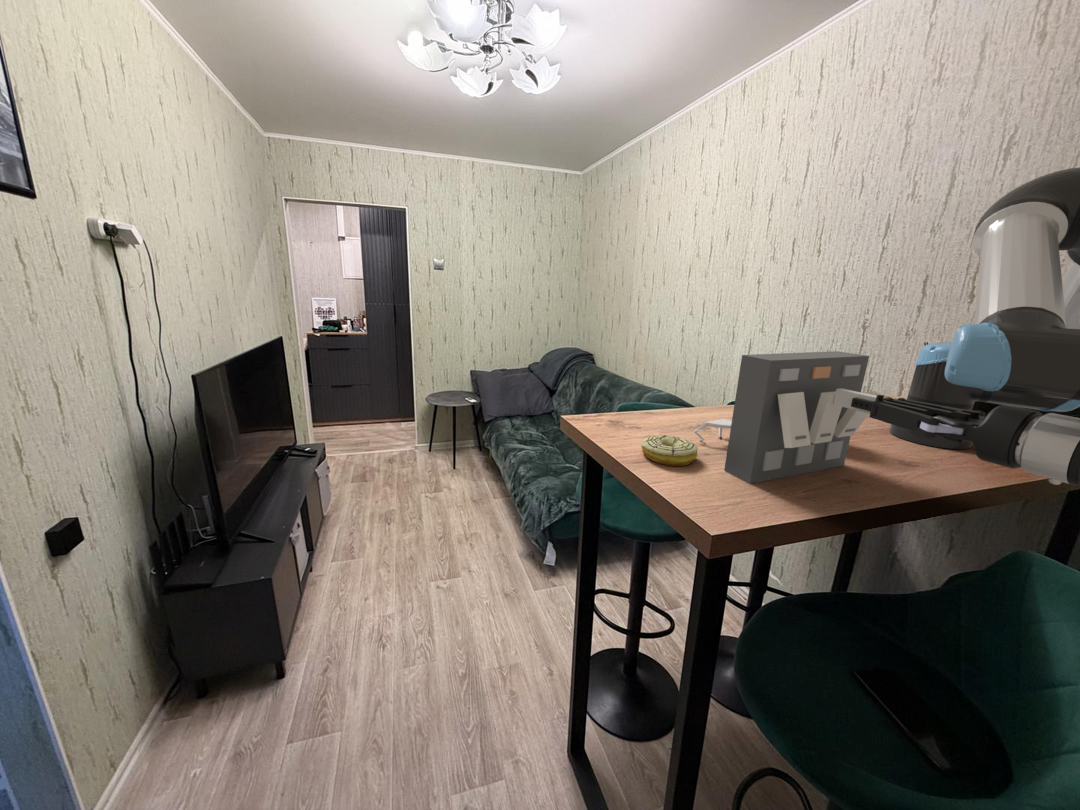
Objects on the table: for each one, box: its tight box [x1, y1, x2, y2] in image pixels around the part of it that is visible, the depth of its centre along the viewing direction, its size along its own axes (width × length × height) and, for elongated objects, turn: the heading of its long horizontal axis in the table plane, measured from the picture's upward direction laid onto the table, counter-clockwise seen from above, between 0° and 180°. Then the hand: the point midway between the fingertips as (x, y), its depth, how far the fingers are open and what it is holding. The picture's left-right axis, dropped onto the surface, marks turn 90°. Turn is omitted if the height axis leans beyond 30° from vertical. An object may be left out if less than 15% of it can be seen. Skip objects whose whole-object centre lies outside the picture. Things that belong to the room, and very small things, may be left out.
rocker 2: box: [833, 390, 881, 437], centre depth 79 cm, size 2×4×9 cm, turn 112°
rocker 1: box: [778, 392, 811, 448], centre depth 72 cm, size 2×4×9 cm, turn 112°
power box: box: [724, 350, 870, 484], centre depth 81 cm, size 6×25×22 cm, turn 112°
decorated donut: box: [640, 435, 699, 467], centre depth 87 cm, size 10×11×4 cm
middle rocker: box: [809, 391, 842, 444], centre depth 75 cm, size 2×4×9 cm, turn 112°
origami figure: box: [692, 417, 732, 443], centre depth 96 cm, size 12×8×5 cm
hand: (837, 396), depth 73 cm, fingers closed
